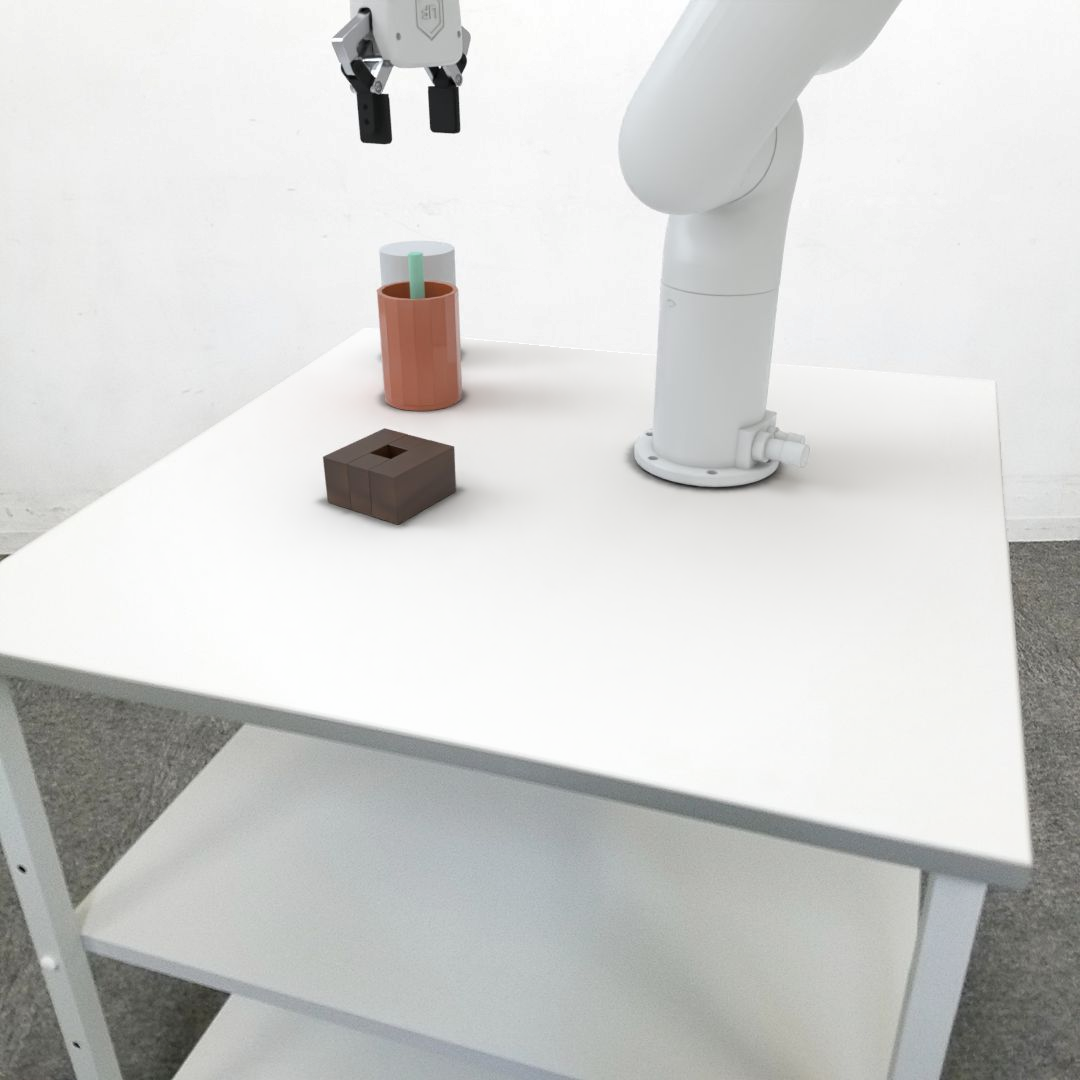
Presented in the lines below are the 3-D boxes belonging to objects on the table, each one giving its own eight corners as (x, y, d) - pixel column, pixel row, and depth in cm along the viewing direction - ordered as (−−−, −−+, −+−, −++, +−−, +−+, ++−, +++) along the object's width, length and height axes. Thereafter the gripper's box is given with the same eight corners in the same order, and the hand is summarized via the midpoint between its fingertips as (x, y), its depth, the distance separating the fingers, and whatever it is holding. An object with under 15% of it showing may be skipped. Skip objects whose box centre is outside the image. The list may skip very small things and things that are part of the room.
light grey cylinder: (463, 346, 121) (460, 241, 116) (451, 367, 114) (447, 257, 108) (395, 344, 122) (388, 240, 116) (379, 365, 115) (371, 255, 109)
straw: (432, 392, 105) (425, 252, 99) (424, 396, 104) (416, 255, 98) (422, 389, 106) (414, 250, 100) (413, 393, 105) (404, 253, 98)
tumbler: (477, 393, 106) (473, 286, 101) (429, 416, 101) (423, 304, 95) (417, 380, 110) (412, 276, 105) (368, 401, 104) (360, 292, 99)
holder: (456, 491, 85) (454, 446, 83) (397, 524, 80) (394, 477, 78) (387, 471, 89) (384, 427, 87) (327, 502, 83) (322, 456, 81)
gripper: (361, -92, 78) (380, 150, 85) (495, -79, 91) (501, 131, 98) (290, -86, 81) (314, 145, 89) (428, -74, 94) (438, 127, 102)
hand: (412, 137), depth 94 cm, fingers open, 9 cm apart
